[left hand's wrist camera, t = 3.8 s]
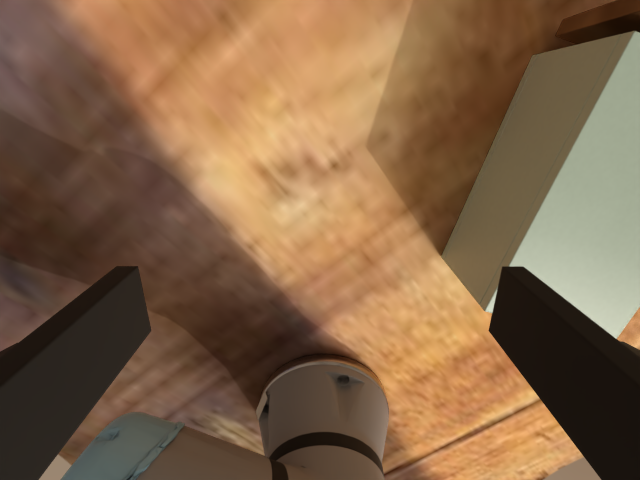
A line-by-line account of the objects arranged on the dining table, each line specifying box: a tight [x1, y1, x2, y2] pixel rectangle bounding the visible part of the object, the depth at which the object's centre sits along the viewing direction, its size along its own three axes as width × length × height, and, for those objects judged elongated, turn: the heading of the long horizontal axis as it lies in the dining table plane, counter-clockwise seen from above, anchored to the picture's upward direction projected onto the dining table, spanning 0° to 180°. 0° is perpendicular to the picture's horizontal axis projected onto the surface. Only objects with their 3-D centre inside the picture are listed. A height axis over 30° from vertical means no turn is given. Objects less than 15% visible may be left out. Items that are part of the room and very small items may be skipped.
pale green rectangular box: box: [441, 31, 640, 339], centre depth 28 cm, size 19×11×10 cm, turn 164°
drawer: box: [556, 0, 640, 44], centre depth 25 cm, size 23×10×8 cm, turn 164°
